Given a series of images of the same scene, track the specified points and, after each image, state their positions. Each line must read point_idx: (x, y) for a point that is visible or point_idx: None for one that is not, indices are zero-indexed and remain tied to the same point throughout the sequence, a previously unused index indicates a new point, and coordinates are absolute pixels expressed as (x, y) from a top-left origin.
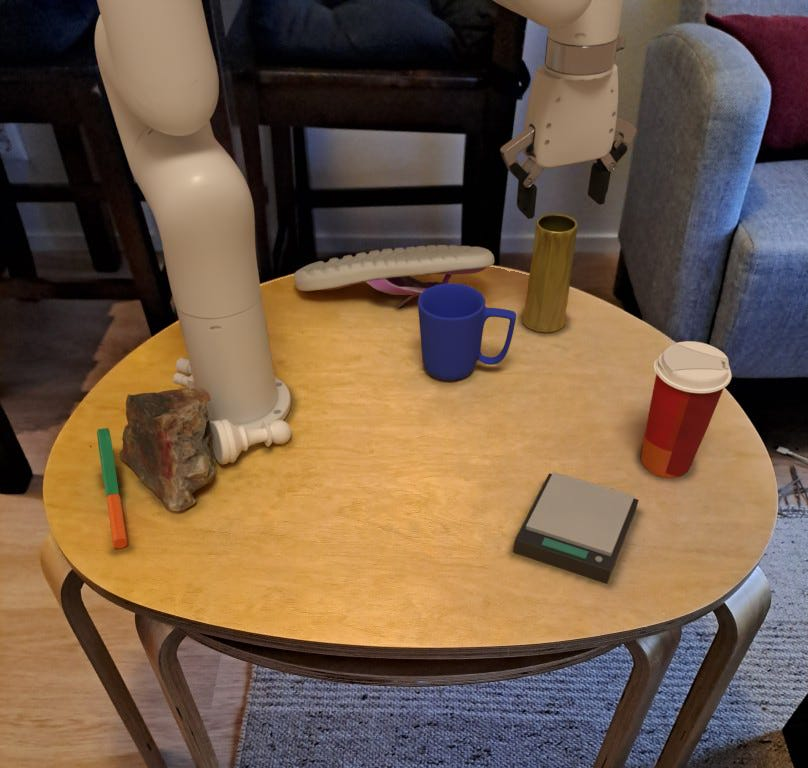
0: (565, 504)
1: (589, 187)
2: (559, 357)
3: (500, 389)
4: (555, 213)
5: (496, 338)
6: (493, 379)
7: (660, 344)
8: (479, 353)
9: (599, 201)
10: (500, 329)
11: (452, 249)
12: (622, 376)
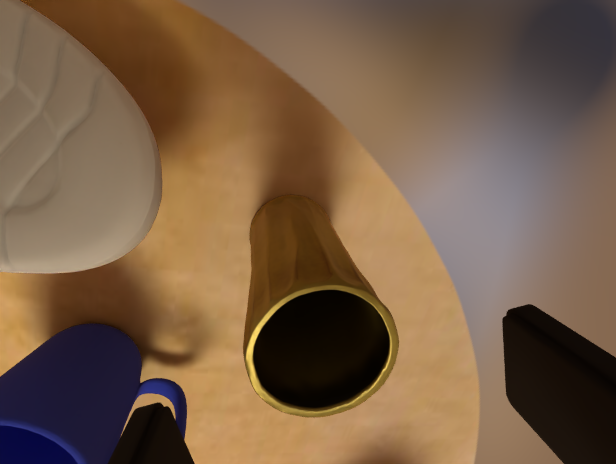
0: None
1: (531, 343)
2: None
3: None
4: (338, 285)
5: (193, 278)
6: (176, 382)
7: (456, 313)
8: (138, 393)
9: (517, 408)
10: (204, 252)
11: (21, 113)
12: None
